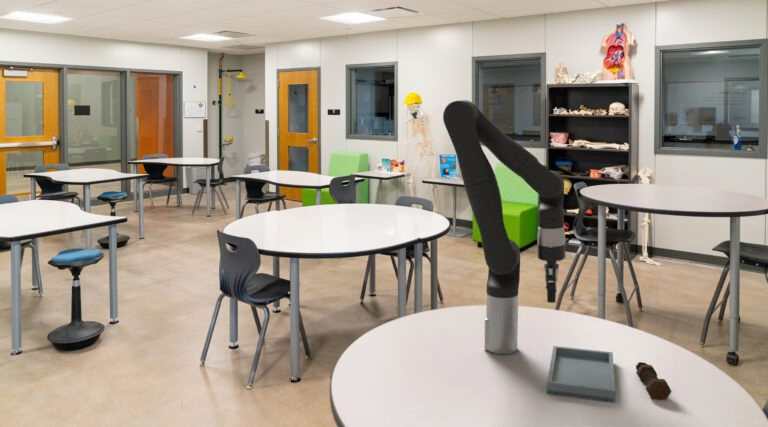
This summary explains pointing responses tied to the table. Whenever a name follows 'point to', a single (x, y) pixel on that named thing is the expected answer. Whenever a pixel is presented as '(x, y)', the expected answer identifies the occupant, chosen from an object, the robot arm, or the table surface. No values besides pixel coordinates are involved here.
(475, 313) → the table surface
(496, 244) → the robot arm
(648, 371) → the bolt
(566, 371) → the tray
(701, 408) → the table surface
